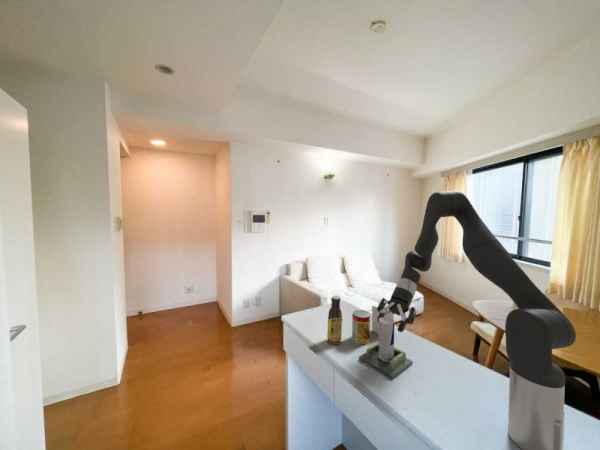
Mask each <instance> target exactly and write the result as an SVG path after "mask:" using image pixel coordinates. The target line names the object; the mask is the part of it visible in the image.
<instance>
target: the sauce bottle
mask: <svg viewBox="0 0 600 450" xmlns="http://www.w3.org/2000/svg"><path fill="white" fill-rule="evenodd" d="M330 300H331V305H330V308H329V311H328V317H327V333H326V334H327V335H326V336H327V339H326V340H327V342H328V344H331V345H339V344H341V341H342V334H343V331H342V330H343V328H342V327H343V313H342V310H341V304H340V303H341V297H340V296H336V295H334V296H333V295H332V296H331V299H330Z"/></svg>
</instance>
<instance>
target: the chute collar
mask: <svg viewBox="0 0 600 450" xmlns="http://www.w3.org/2000/svg"><path fill="white" fill-rule="evenodd" d="M365 351H366V352H365V353H363V354H361V355H359V356H358V360H359V361H361V363H364V364H366V365H367V366H369V367H370V368H373V369H374V370H376V371H377V372H378V373H380V374H382V375H384V376H385V377H387V378H388V379H390V380H394V379H396V378H397V377H398V376H399V375H401V374H402V373H403V372H405V371H406V370H407V369H409V368H410V367H411V366H412V365H413V363H414V361H413V360H412V359H410V358H407V353H406V352H405V351H403V350H401V349H399V348H397V347H395V346H394V358H393V359H392V360H390V361H389V362H385V361H382V360H381V359H380V358H379V357H378V342H377V343H375V344H373V345H371V346H370V347H368V348H366V350H365Z"/></svg>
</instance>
